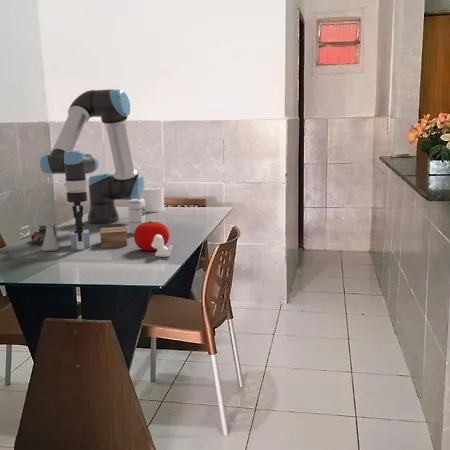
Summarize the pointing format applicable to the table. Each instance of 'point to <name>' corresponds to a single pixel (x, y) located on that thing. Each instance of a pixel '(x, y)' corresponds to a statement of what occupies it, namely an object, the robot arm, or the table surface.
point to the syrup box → (136, 213)
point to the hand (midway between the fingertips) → (80, 246)
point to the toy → (40, 235)
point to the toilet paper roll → (153, 199)
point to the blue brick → (74, 242)
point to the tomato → (150, 234)
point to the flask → (50, 239)
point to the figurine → (161, 247)
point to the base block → (113, 237)
